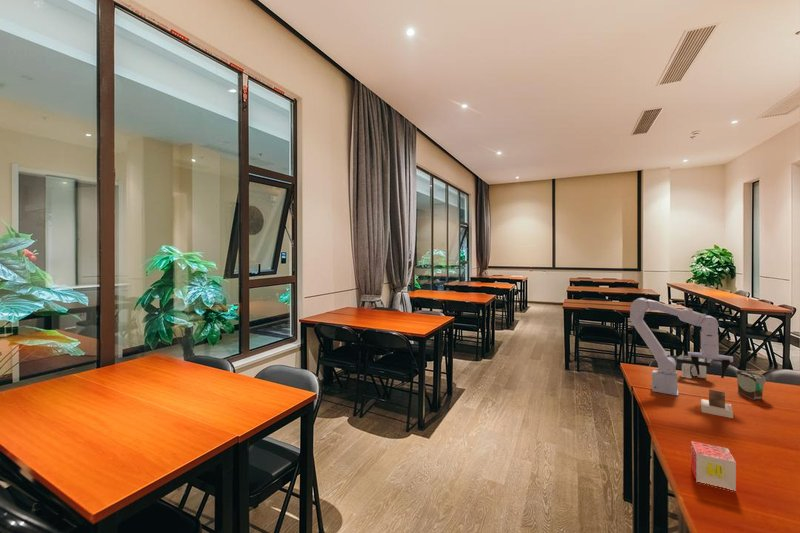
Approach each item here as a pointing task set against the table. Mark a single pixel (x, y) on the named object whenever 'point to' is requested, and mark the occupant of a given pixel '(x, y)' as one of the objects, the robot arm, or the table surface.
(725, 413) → the base block
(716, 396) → the grayish beige block
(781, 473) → the table surface
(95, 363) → the table surface
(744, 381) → the food container
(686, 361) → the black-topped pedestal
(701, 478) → the pink and white box
